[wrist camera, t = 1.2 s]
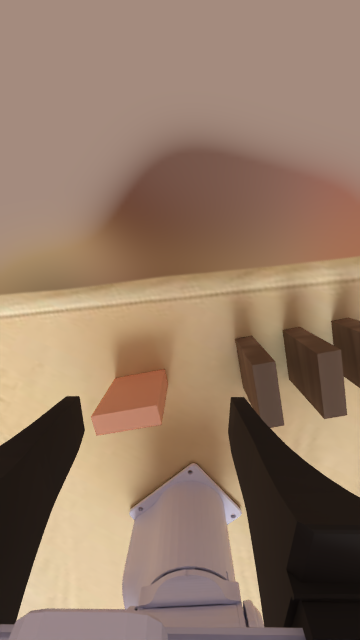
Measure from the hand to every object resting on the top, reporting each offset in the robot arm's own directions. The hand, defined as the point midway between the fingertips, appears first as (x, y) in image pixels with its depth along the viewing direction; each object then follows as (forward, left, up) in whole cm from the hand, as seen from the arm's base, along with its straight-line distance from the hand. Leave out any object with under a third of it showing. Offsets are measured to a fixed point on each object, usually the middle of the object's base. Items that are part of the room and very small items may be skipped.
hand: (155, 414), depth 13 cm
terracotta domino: (-5, -1, -13) cm, 14 cm away
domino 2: (+8, -9, -13) cm, 18 cm away
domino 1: (+4, -7, -13) cm, 15 cm away
